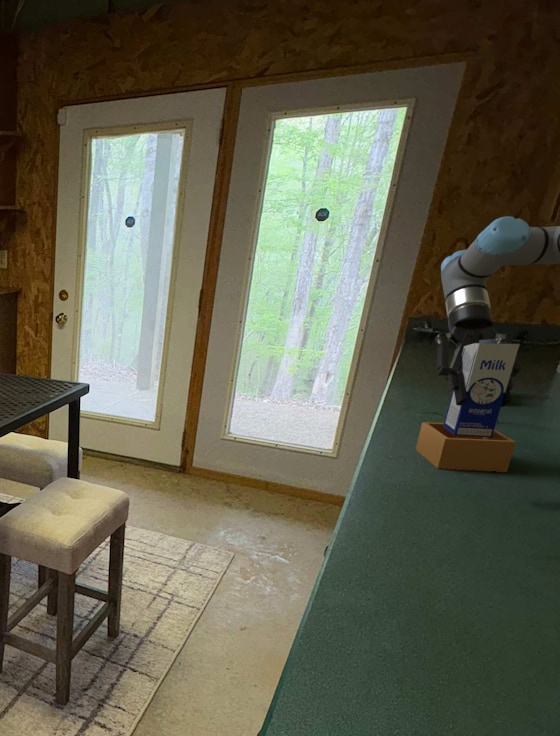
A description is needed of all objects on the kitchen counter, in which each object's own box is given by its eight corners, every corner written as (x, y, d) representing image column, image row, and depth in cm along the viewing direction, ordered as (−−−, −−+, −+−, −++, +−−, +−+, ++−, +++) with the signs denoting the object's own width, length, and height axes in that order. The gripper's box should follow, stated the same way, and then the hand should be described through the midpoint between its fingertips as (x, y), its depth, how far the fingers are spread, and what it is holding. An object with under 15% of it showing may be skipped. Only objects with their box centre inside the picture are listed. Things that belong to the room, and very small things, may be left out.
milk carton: (453, 435, 135) (478, 342, 127) (441, 426, 140) (465, 336, 133) (493, 437, 132) (521, 342, 125) (479, 428, 138) (505, 337, 131)
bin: (478, 453, 143) (487, 424, 140) (506, 472, 132) (516, 441, 129) (415, 450, 146) (422, 422, 144) (437, 468, 135) (445, 438, 132)
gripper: (512, 324, 140) (530, 413, 131) (410, 323, 145) (420, 409, 137) (532, 302, 133) (552, 395, 125) (424, 303, 138) (436, 391, 130)
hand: (483, 402), depth 131 cm, fingers closed on milk carton, 7 cm apart
